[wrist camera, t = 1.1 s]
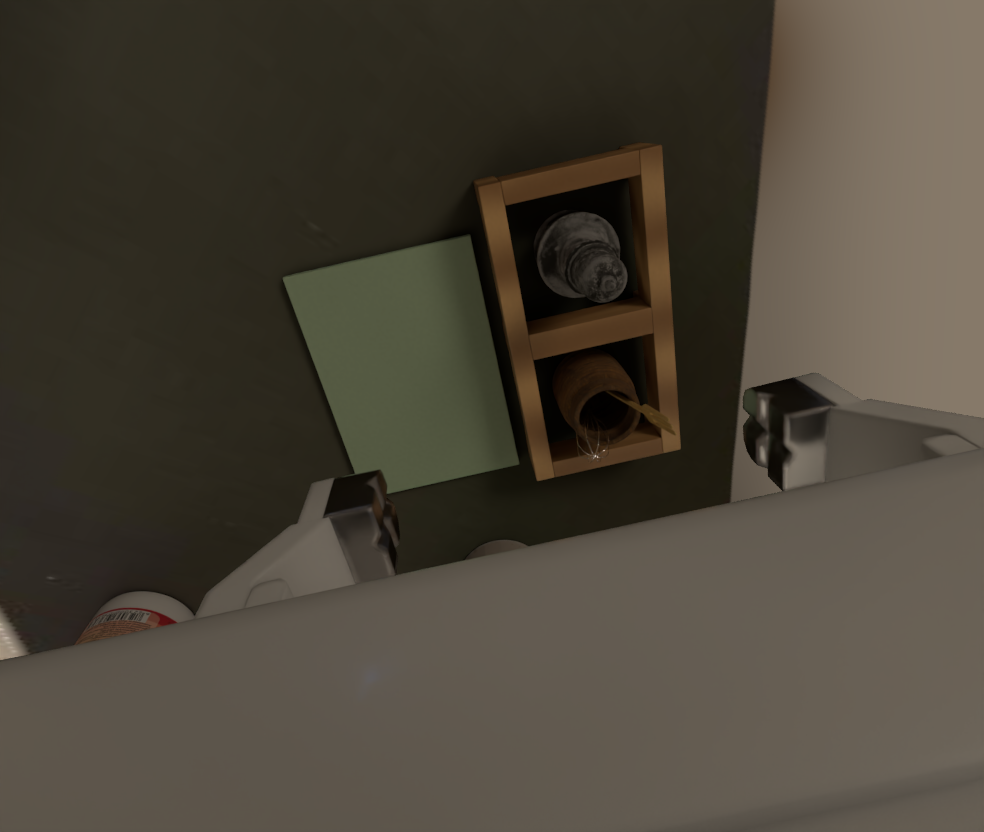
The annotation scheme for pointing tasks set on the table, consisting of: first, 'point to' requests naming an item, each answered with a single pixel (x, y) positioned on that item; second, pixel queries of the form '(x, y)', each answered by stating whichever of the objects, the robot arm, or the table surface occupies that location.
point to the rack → (593, 324)
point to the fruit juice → (134, 615)
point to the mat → (408, 362)
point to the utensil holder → (600, 399)
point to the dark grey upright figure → (580, 256)
